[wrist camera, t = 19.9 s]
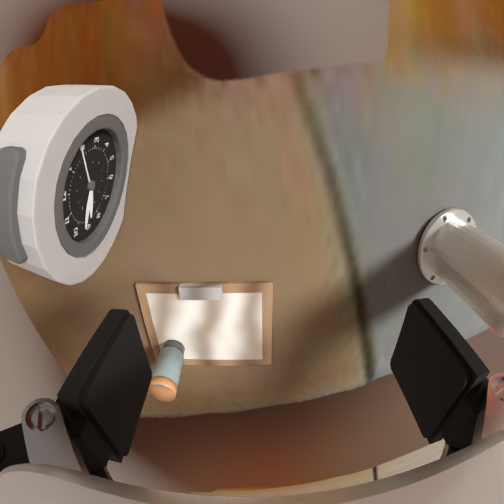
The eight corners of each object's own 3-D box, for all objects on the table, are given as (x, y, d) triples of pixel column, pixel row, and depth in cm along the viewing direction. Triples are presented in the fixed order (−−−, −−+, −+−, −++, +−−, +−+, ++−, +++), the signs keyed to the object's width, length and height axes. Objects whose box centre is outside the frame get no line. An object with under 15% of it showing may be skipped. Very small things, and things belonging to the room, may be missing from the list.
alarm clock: (120, 246, 38) (41, 332, 20) (79, 235, 37) (-8, 305, 19) (144, 93, 30) (40, 72, 11) (96, 90, 29) (-15, 80, 11)
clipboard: (272, 280, 40) (273, 286, 39) (271, 362, 46) (271, 368, 45) (136, 282, 40) (132, 287, 39) (157, 360, 46) (155, 366, 45)
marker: (184, 338, 43) (172, 385, 34) (188, 357, 45) (178, 402, 36) (160, 337, 43) (144, 382, 34) (164, 356, 45) (151, 400, 36)
